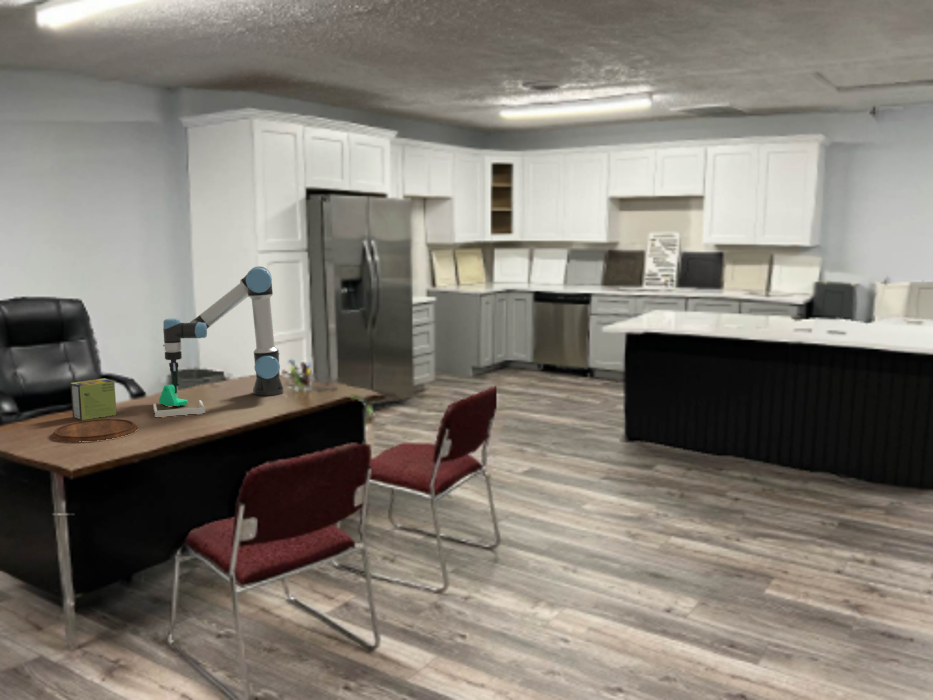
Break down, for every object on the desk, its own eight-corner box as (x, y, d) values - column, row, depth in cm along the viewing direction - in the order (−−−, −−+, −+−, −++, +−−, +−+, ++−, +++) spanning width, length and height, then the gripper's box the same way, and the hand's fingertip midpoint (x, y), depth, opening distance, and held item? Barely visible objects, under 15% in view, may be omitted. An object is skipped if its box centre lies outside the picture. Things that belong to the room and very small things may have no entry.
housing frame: (201, 406, 367) (201, 400, 366) (205, 413, 352) (204, 407, 351) (153, 410, 358) (153, 403, 358) (155, 418, 343) (154, 411, 343)
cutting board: (134, 420, 340) (134, 415, 339) (141, 438, 312) (140, 431, 311) (52, 428, 325) (51, 423, 325) (50, 447, 297) (50, 441, 297)
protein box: (117, 414, 349) (115, 381, 347) (81, 420, 338) (79, 385, 335) (107, 411, 356) (104, 378, 354) (72, 417, 345) (69, 382, 342)
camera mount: (189, 405, 368) (187, 384, 366) (175, 408, 362) (173, 387, 360) (173, 402, 374) (172, 381, 373) (159, 405, 368) (158, 384, 367)
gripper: (164, 349, 376) (166, 397, 379) (165, 353, 364) (167, 402, 368) (180, 348, 379) (182, 396, 382) (182, 352, 367) (184, 401, 370)
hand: (175, 399), depth 375 cm, fingers closed
